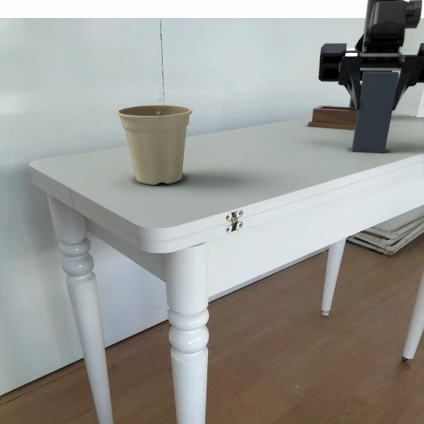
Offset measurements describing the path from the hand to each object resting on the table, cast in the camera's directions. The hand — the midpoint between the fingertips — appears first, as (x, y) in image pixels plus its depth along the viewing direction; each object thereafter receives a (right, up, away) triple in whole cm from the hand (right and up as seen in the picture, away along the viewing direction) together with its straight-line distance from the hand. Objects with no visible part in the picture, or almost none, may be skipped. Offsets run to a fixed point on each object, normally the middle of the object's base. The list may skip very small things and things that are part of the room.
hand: (375, 108), depth 69 cm
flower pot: (-32, -13, -9) cm, 36 cm away
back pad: (0, -5, +4) cm, 7 cm away
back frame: (+1, +7, +25) cm, 26 cm away
